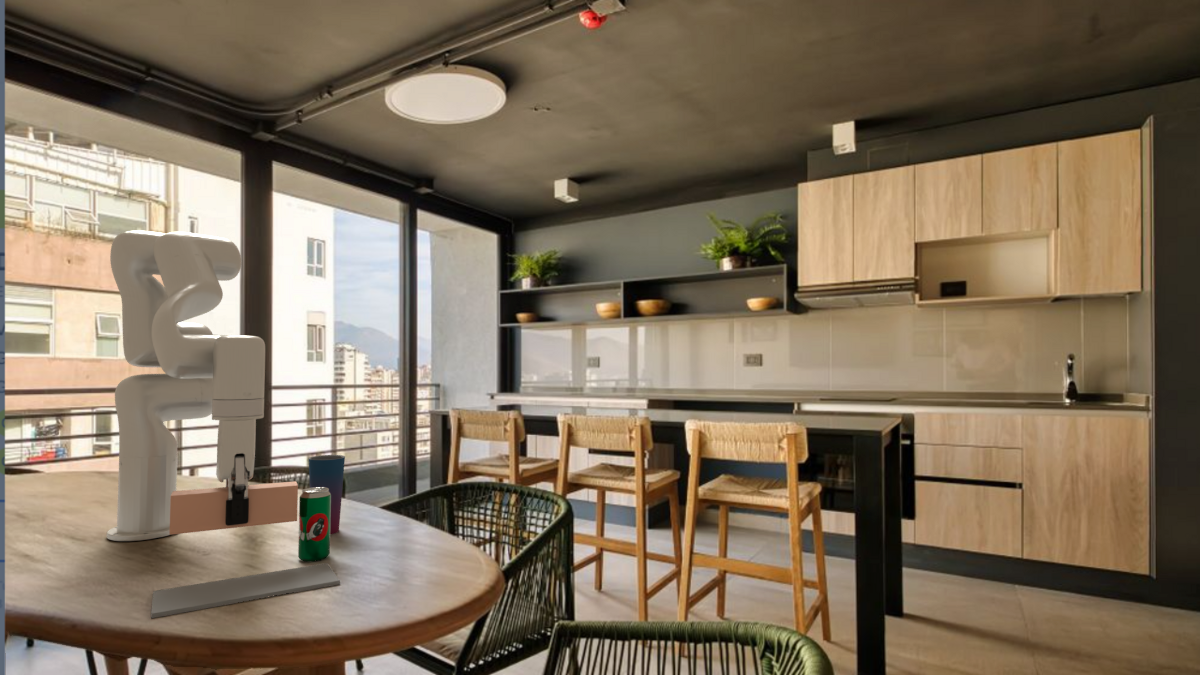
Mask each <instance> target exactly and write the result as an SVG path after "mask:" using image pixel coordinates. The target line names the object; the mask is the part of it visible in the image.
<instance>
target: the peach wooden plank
mask: <svg viewBox="0 0 1200 675" xmlns="http://www.w3.org/2000/svg"><path fill="white" fill-rule="evenodd" d="M232 487H233V486H232ZM298 495H299V485H298V483H297V481H285V482H274V483H273V482H272V483H271V482H270V483H261V484H259V483H258V484H248V498H249V516H248V523H246V524H238V525H229V526H227V525H226V523H225V522H226V500H228V487H226V486H221V487H219V486H218V487H211V488H210V487H209V488H196V489H184V490H183V489H182V490H176V491H173V492H172V494H171V499H170V533H169V535H168V536H171V535H179V534H191V533H199V532H200V533H201V532H207V531H217V530H226V529H235V528H242V527H243V528H245V527H254V526H263V525H272V524H280V523H281V524H282V523H292V522H298V506H299V505H298V503H299V502H298V500H299V498H298V497H299V496H298Z"/></svg>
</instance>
